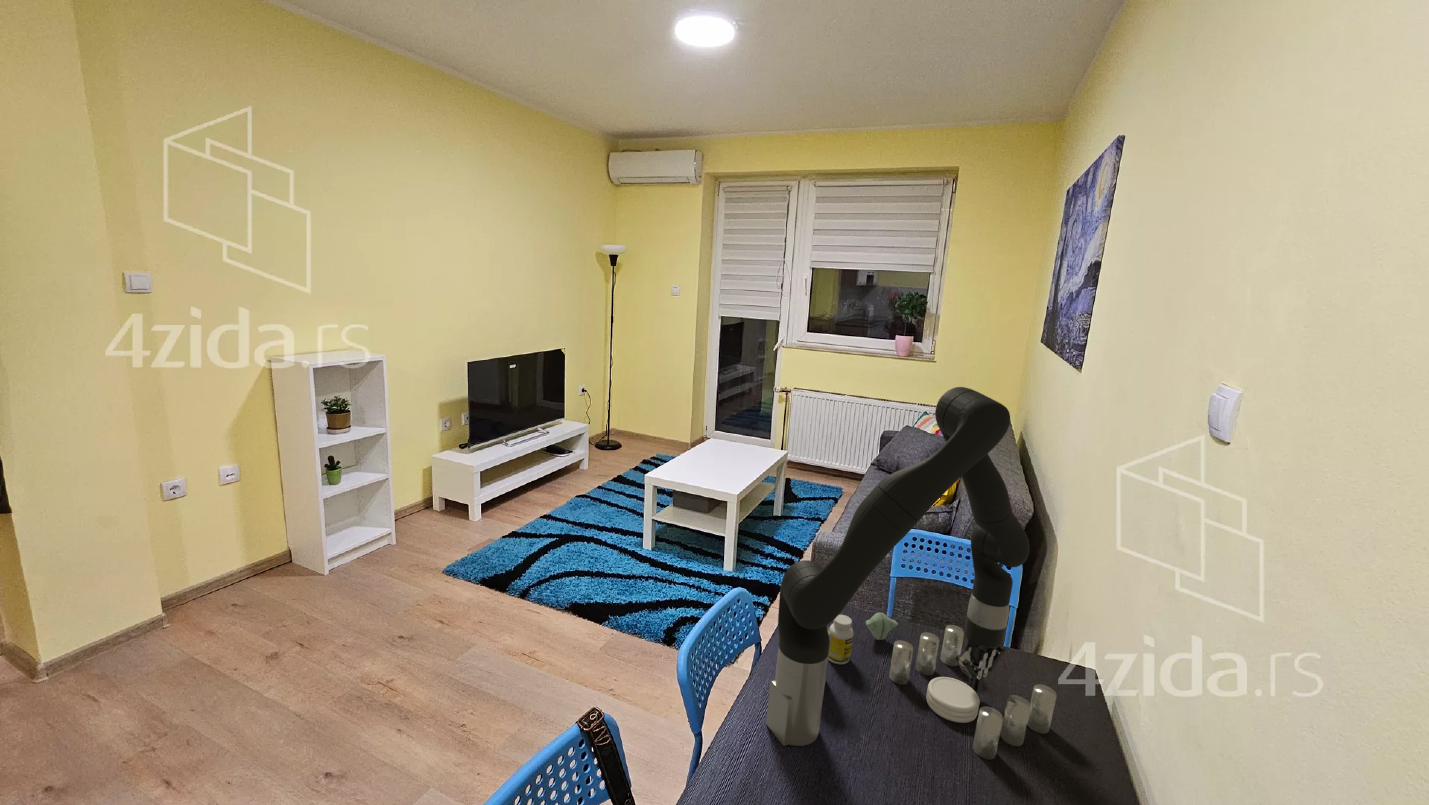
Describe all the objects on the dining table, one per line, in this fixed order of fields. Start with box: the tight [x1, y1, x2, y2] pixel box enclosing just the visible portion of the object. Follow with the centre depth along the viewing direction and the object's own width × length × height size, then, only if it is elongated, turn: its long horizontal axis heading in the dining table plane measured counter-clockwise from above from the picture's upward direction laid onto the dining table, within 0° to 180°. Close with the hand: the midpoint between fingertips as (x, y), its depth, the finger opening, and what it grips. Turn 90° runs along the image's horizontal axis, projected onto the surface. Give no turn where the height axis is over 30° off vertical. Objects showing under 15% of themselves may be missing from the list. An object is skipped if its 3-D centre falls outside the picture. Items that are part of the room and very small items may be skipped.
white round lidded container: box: [925, 676, 981, 724], centre depth 123 cm, size 10×10×4 cm
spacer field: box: [888, 624, 1058, 761], centre depth 124 cm, size 20×26×8 cm
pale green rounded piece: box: [865, 612, 899, 641], centre depth 144 cm, size 8×4×7 cm, turn 98°
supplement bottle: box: [828, 614, 854, 665], centre depth 135 cm, size 5×5×10 cm
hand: (974, 690), depth 126 cm, fingers closed
